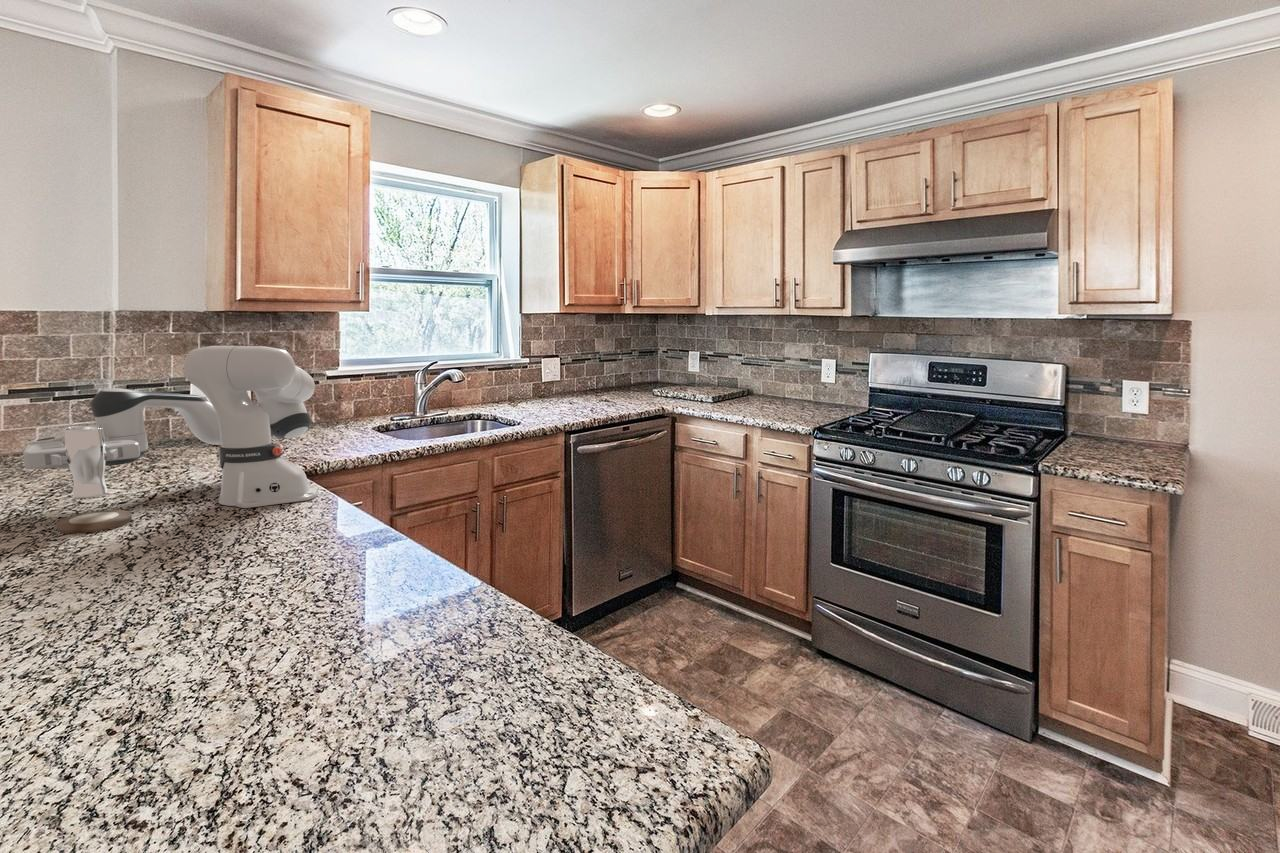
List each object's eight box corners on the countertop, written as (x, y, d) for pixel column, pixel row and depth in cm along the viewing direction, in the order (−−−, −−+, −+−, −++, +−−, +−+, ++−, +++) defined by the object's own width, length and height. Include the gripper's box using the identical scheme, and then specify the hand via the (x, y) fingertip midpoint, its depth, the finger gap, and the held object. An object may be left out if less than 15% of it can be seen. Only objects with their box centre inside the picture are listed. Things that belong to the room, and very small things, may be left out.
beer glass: (87, 499, 144) (80, 430, 142) (61, 497, 146) (54, 429, 144) (118, 492, 151) (112, 426, 149) (93, 490, 153) (86, 425, 150)
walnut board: (138, 514, 158) (137, 507, 158) (122, 529, 146) (121, 522, 146) (69, 520, 153) (68, 512, 153) (46, 536, 141) (45, 528, 141)
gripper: (137, 457, 164) (146, 466, 154) (24, 469, 150) (26, 480, 140) (135, 431, 163) (144, 439, 153) (20, 441, 149) (22, 450, 139)
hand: (87, 459), depth 147 cm, fingers closed on beer glass, 6 cm apart
